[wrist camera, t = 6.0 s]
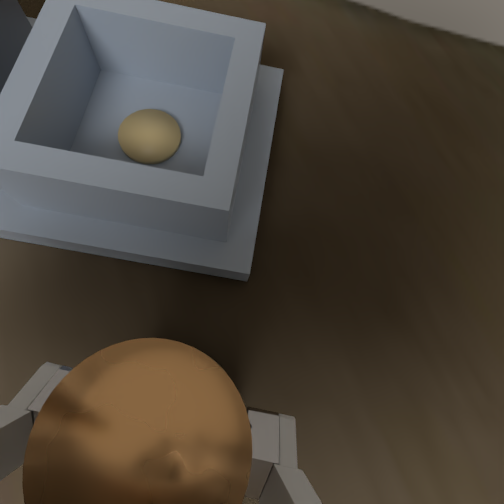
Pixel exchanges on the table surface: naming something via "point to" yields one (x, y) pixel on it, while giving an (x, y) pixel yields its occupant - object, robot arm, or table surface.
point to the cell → (141, 431)
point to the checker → (135, 132)
